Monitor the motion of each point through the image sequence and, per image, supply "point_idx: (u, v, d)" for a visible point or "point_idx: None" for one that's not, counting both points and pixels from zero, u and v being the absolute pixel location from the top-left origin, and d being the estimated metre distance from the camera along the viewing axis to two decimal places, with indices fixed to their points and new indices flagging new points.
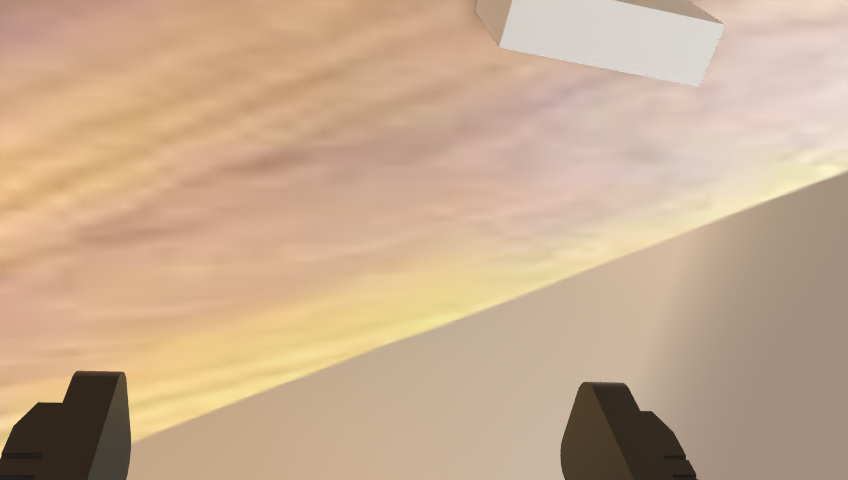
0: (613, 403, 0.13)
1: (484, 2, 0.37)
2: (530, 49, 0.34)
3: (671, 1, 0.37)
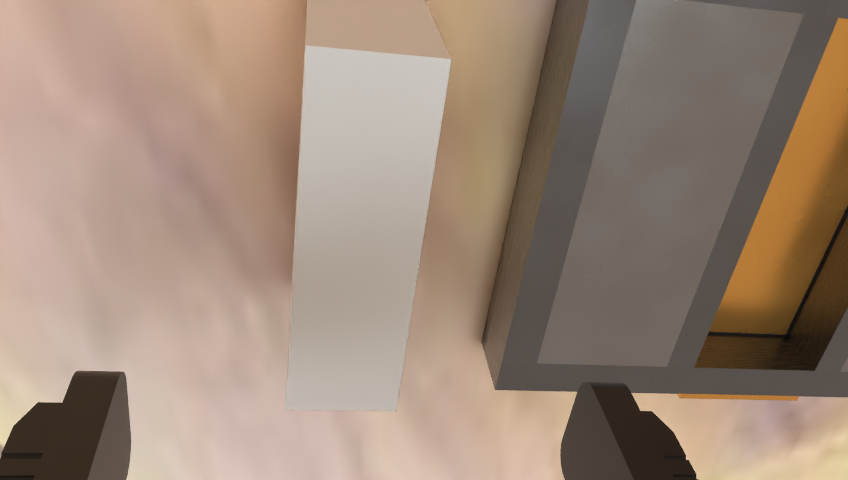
0: (613, 403, 0.13)
1: None
2: (310, 112, 0.16)
3: None
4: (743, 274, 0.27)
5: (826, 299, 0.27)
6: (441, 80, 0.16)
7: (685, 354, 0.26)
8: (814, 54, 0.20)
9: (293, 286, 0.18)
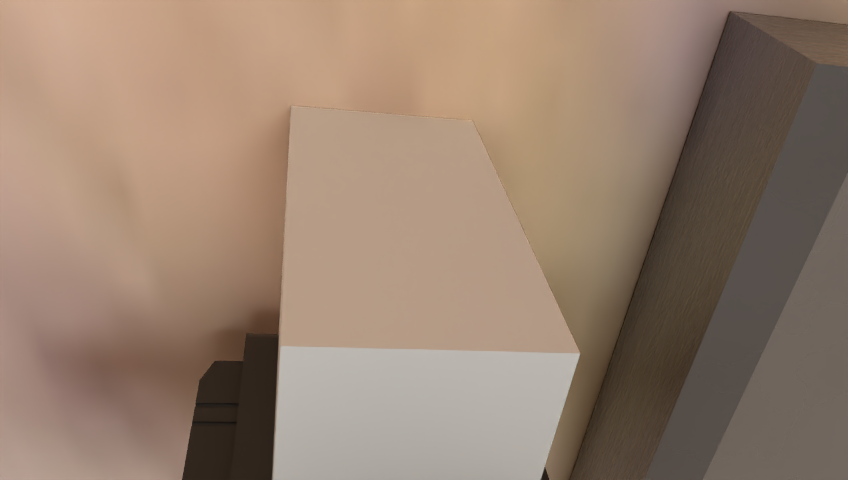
0: None
1: (346, 150, 0.11)
2: (291, 452, 0.08)
3: None
4: None
5: None
6: (556, 389, 0.08)
7: None
8: None
9: None
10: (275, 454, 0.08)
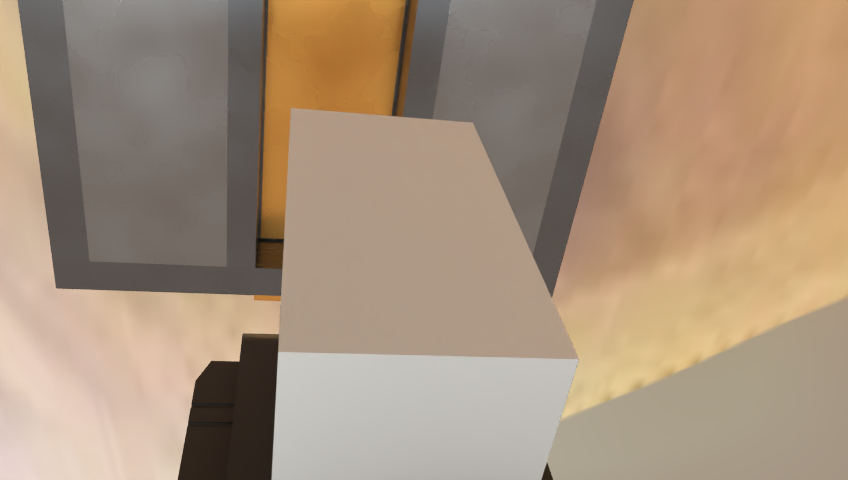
0: None
1: (346, 153, 0.11)
2: (290, 457, 0.08)
3: None
4: None
5: None
6: (556, 395, 0.08)
7: (240, 254, 0.27)
8: None
9: None
10: (273, 459, 0.08)
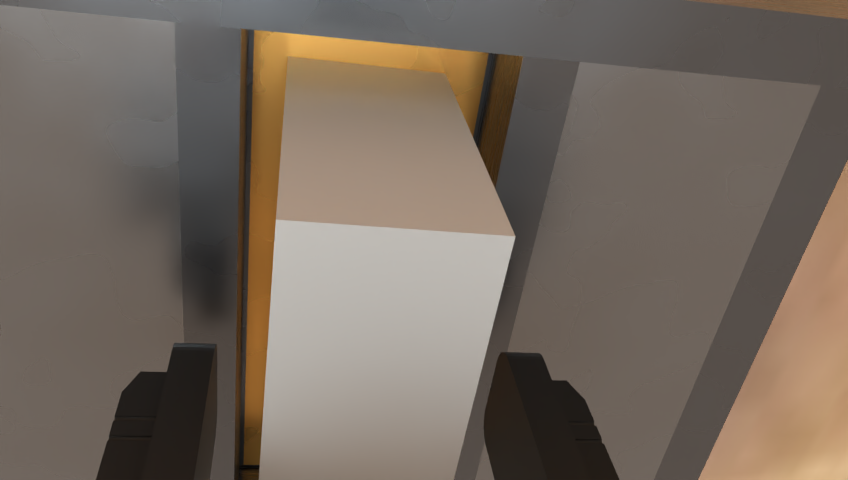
0: (525, 371, 0.13)
1: (334, 91, 0.13)
2: (283, 315, 0.10)
3: None
4: None
5: None
6: (497, 267, 0.10)
7: None
8: (224, 88, 0.12)
9: None
10: (270, 316, 0.10)
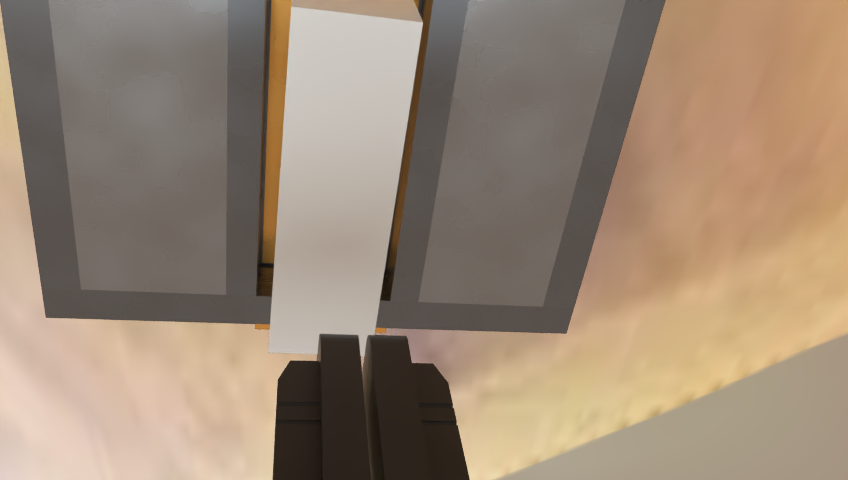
0: (386, 354, 0.13)
1: None
2: (295, 69, 0.18)
3: None
4: None
5: (395, 228, 0.26)
6: (413, 42, 0.18)
7: (241, 281, 0.26)
8: None
9: (277, 233, 0.20)
10: (287, 69, 0.18)
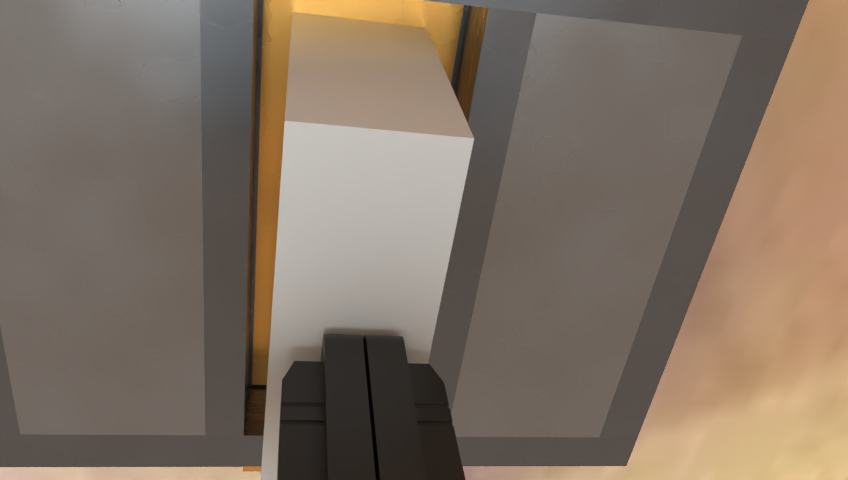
0: (382, 354, 0.13)
1: (331, 37, 0.16)
2: (290, 202, 0.12)
3: None
4: None
5: None
6: (460, 164, 0.12)
7: (224, 420, 0.20)
8: (240, 33, 0.15)
9: (267, 406, 0.15)
10: (279, 203, 0.12)
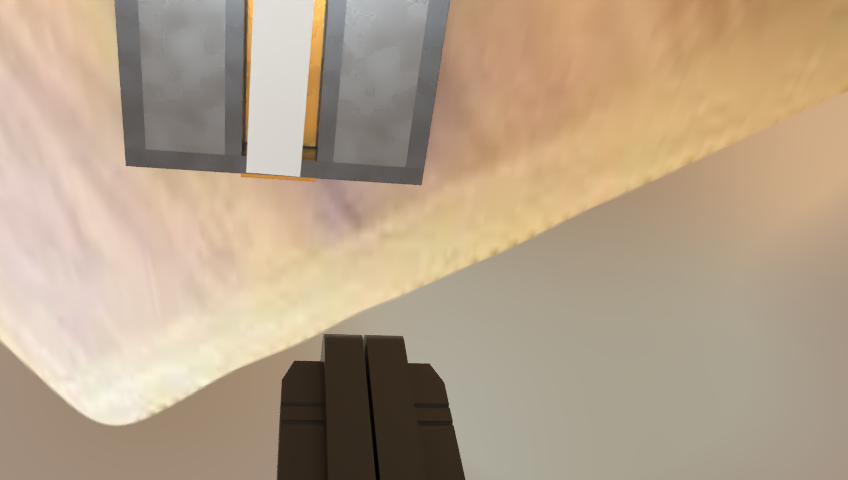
0: (382, 353, 0.13)
1: None
2: (256, 22, 0.39)
3: None
4: None
5: (319, 119, 0.47)
6: (310, 9, 0.39)
7: (233, 146, 0.47)
8: None
9: (249, 105, 0.41)
10: (252, 22, 0.39)
